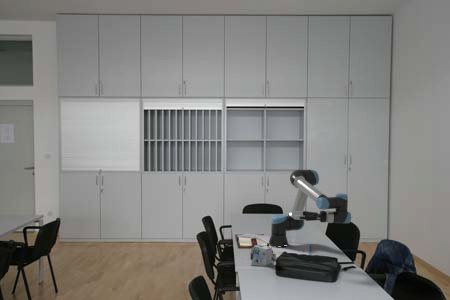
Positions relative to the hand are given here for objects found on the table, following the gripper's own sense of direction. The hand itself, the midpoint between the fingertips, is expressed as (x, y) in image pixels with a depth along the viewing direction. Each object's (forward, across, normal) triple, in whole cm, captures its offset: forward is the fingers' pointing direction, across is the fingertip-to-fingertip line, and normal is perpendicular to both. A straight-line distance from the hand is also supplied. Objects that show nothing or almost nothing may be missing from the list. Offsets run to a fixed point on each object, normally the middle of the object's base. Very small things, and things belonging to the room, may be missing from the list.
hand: (293, 215), depth 233 cm
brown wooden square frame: (+21, +8, -32) cm, 39 cm away
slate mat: (+20, -6, -32) cm, 38 cm away
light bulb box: (+20, -6, -32) cm, 38 cm away
